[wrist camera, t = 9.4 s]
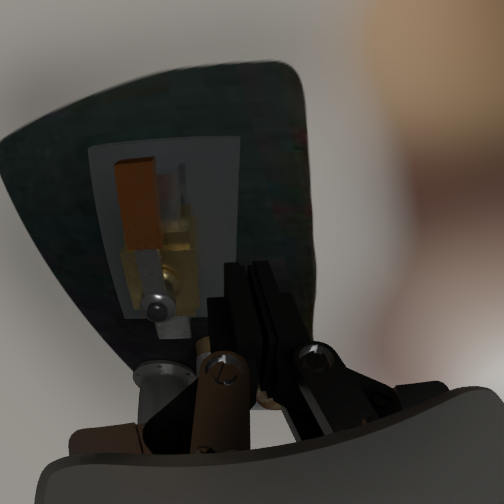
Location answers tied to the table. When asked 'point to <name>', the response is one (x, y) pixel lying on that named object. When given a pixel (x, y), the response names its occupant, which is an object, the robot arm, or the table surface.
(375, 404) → the robot arm
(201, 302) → the valve board
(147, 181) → the lever
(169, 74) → the table surface
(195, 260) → the valve
